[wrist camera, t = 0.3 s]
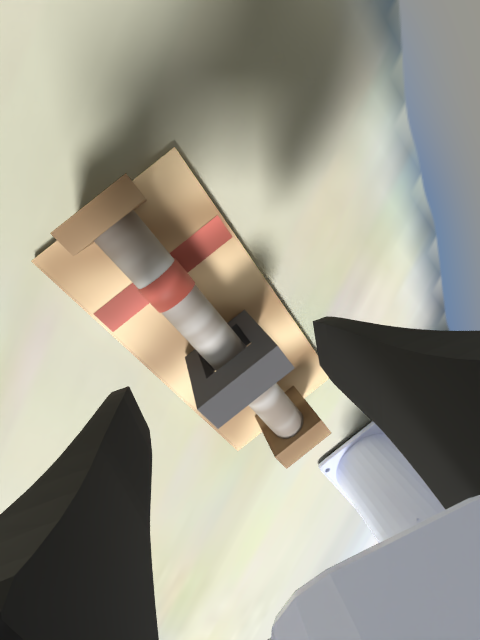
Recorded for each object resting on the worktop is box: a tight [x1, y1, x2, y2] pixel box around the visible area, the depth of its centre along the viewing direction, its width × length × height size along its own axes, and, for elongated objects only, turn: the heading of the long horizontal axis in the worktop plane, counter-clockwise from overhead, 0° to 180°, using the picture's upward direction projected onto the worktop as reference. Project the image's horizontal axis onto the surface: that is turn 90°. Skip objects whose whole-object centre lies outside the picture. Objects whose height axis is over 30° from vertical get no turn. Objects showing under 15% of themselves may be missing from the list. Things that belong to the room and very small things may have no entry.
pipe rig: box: [32, 147, 331, 469], centre depth 19 cm, size 20×10×5 cm, turn 35°
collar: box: [185, 310, 294, 429], centre depth 18 cm, size 2×5×6 cm, turn 125°
